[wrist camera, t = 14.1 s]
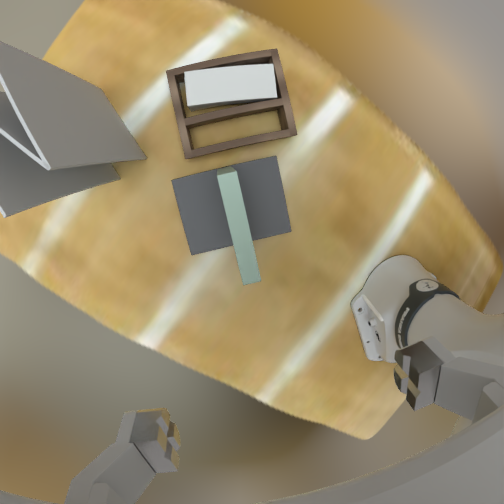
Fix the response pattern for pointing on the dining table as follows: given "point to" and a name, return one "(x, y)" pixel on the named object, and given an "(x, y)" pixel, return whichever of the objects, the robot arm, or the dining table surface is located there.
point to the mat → (213, 212)
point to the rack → (277, 104)
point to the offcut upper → (230, 85)
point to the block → (238, 224)
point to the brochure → (54, 133)
